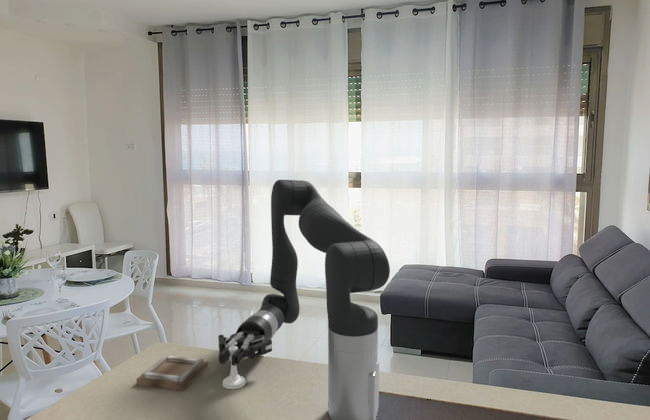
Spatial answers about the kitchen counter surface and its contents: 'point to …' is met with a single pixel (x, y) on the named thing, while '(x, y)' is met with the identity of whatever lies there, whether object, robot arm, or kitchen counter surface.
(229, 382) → the chess piece
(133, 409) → the kitchen counter surface
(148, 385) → the walnut board
